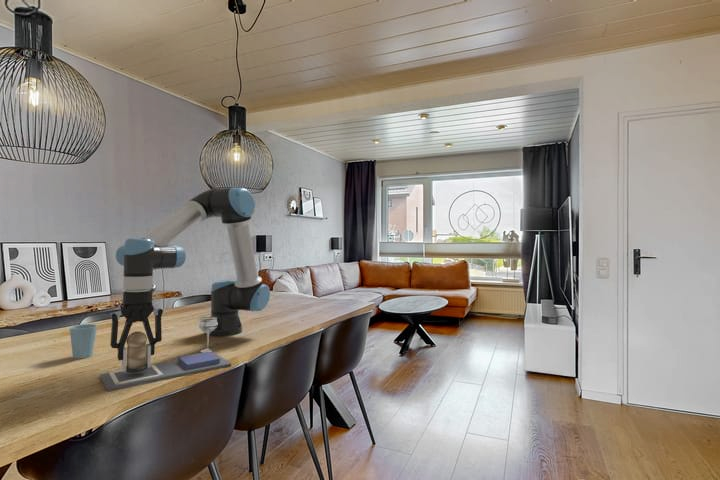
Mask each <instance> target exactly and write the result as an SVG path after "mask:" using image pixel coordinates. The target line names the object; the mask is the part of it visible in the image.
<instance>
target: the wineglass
mask: <svg viewBox="0 0 720 480" xmlns="http://www.w3.org/2000/svg"><path fill="white" fill-rule="evenodd" d="M217 319H218V318H217V317H211V316H202V317H200V318H198V321H199V322H198V328H199V330H201V332H203V333H205V334H206V348H204V349H201V350H200V353H204V352H210V353H212V352H215V351H216V350H215V349H214V348H209V342H210V335H209V334H210V332H212V331H214V330H215V329H216V328H217V326H218V321H217Z"/></svg>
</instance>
